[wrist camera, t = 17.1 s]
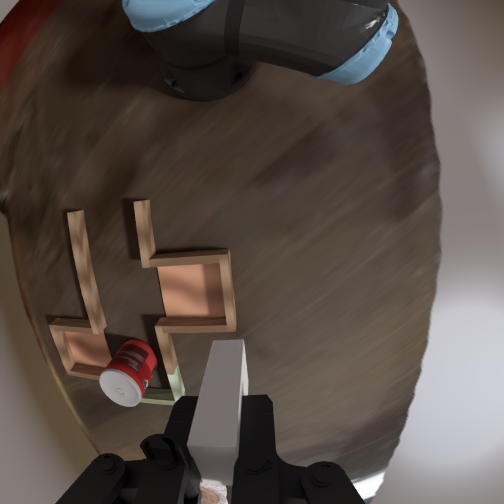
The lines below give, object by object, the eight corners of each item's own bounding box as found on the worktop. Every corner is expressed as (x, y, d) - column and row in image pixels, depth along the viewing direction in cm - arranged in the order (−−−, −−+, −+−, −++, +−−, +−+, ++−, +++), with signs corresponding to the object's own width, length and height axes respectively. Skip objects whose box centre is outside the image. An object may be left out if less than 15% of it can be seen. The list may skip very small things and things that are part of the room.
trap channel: (35, 219, 42) (24, 222, 39) (224, 191, 41) (221, 191, 38) (82, 382, 51) (75, 391, 47) (245, 394, 50) (244, 406, 46)
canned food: (137, 374, 49) (117, 409, 39) (115, 343, 48) (90, 375, 37) (166, 366, 49) (149, 403, 38) (144, 333, 47) (121, 366, 36)
